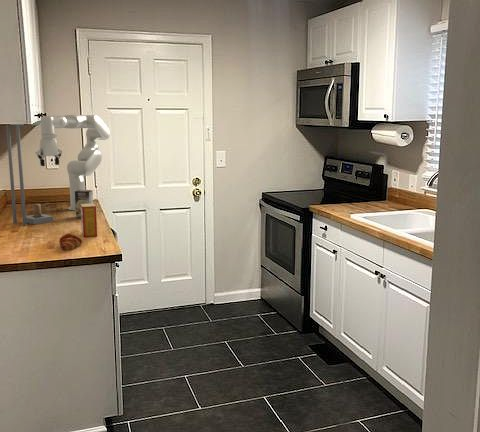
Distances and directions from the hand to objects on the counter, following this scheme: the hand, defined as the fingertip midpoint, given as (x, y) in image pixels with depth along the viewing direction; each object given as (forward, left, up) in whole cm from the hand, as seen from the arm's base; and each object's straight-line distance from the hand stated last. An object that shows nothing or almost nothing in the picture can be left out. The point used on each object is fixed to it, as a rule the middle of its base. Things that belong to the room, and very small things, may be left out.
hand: (50, 165), depth 320 cm
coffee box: (-8, +21, -31) cm, 38 cm away
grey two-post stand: (+23, +13, -30) cm, 40 cm away
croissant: (+41, +78, -31) cm, 93 cm away
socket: (+18, +13, -30) cm, 38 cm away
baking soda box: (+21, +65, -31) cm, 75 cm away
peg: (+18, +13, -30) cm, 38 cm away
